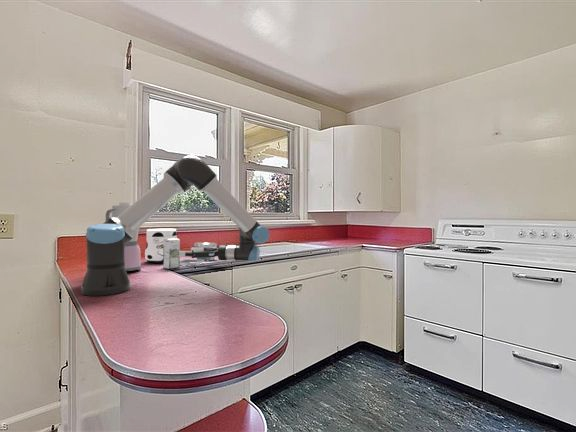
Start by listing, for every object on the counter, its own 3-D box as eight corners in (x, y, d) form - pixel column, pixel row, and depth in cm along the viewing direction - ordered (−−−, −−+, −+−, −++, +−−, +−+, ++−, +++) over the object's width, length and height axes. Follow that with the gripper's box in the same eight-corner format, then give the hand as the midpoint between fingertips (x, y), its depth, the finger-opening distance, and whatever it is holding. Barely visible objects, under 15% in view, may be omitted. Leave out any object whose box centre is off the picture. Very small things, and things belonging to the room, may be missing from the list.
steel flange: (196, 266, 162) (196, 263, 162) (174, 265, 163) (174, 262, 163) (205, 262, 174) (205, 259, 174) (184, 262, 175) (184, 259, 175)
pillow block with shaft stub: (214, 261, 178) (213, 243, 178) (193, 260, 180) (193, 243, 179) (217, 259, 184) (217, 242, 184) (197, 259, 186) (197, 242, 185)
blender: (129, 268, 157) (129, 203, 156) (146, 270, 151) (146, 202, 150) (98, 273, 143) (97, 202, 142) (115, 276, 137) (114, 202, 136)
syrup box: (173, 266, 162) (173, 237, 162) (180, 267, 158) (179, 238, 158) (163, 267, 158) (162, 238, 157) (169, 269, 154) (169, 239, 154)
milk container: (168, 264, 166) (168, 230, 166) (137, 264, 169) (137, 230, 169) (184, 259, 184) (183, 228, 183) (156, 259, 186) (156, 228, 186)
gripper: (219, 264, 143) (173, 263, 145) (234, 256, 167) (195, 256, 170) (219, 248, 142) (173, 247, 145) (234, 242, 167) (195, 241, 170)
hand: (185, 252), depth 157 cm, fingers open, 13 cm apart
